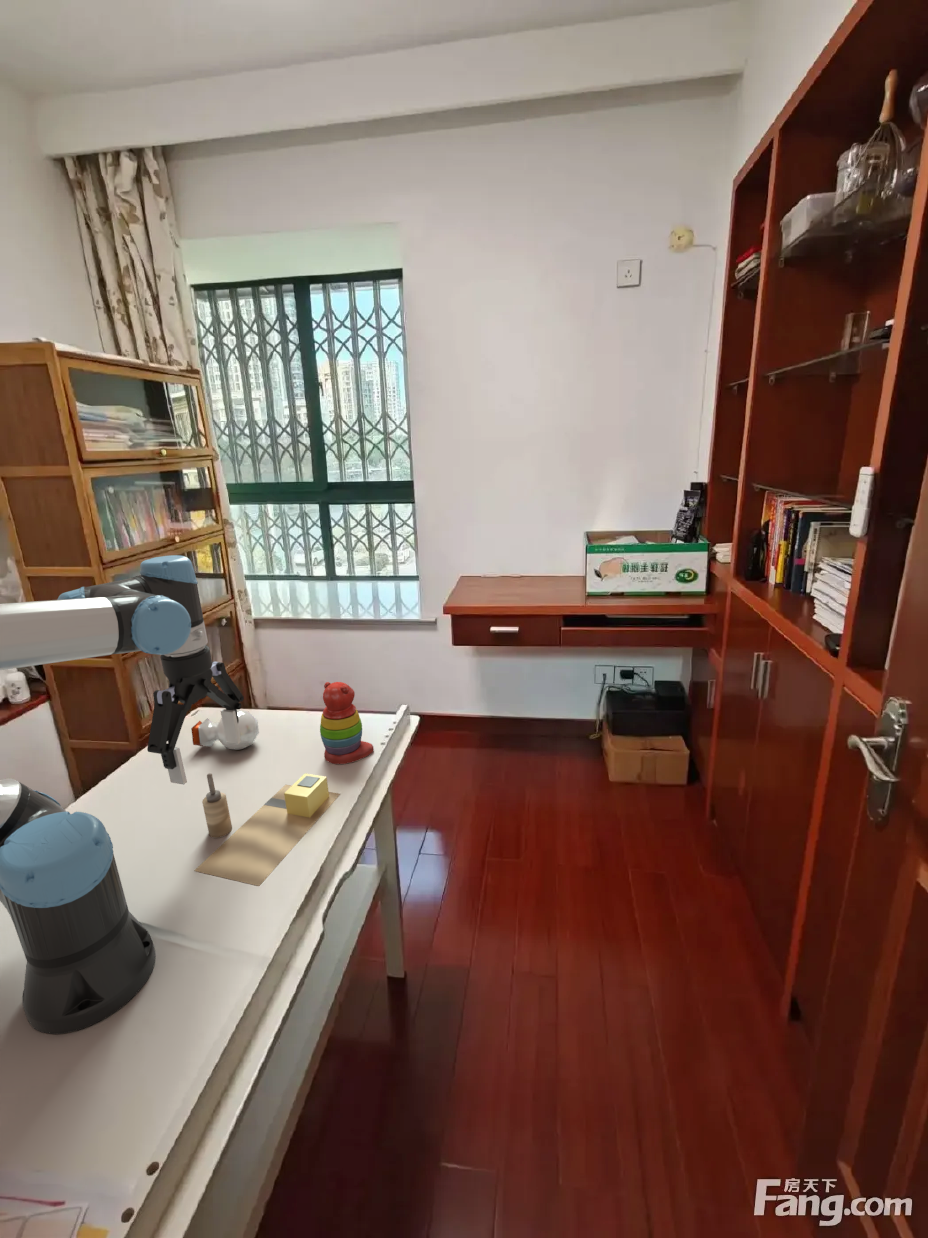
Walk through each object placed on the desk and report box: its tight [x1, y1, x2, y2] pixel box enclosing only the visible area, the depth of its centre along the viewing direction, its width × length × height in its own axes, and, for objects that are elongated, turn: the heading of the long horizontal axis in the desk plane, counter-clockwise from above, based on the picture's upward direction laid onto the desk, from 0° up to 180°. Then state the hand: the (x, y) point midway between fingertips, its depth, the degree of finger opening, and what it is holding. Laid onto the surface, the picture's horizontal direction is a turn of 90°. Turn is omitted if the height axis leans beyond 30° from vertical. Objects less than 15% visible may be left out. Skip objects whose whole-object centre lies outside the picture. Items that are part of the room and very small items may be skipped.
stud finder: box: [284, 773, 330, 818], centre depth 113 cm, size 7×5×5 cm
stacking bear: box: [319, 681, 375, 765], centre depth 131 cm, size 11×10×18 cm
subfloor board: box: [194, 784, 341, 887], centre depth 107 cm, size 26×18×1 cm
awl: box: [201, 772, 233, 839], centre depth 105 cm, size 4×4×13 cm
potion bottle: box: [191, 709, 260, 751], centre depth 138 cm, size 9×10×15 cm
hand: (208, 761), depth 103 cm, fingers open, 13 cm apart
